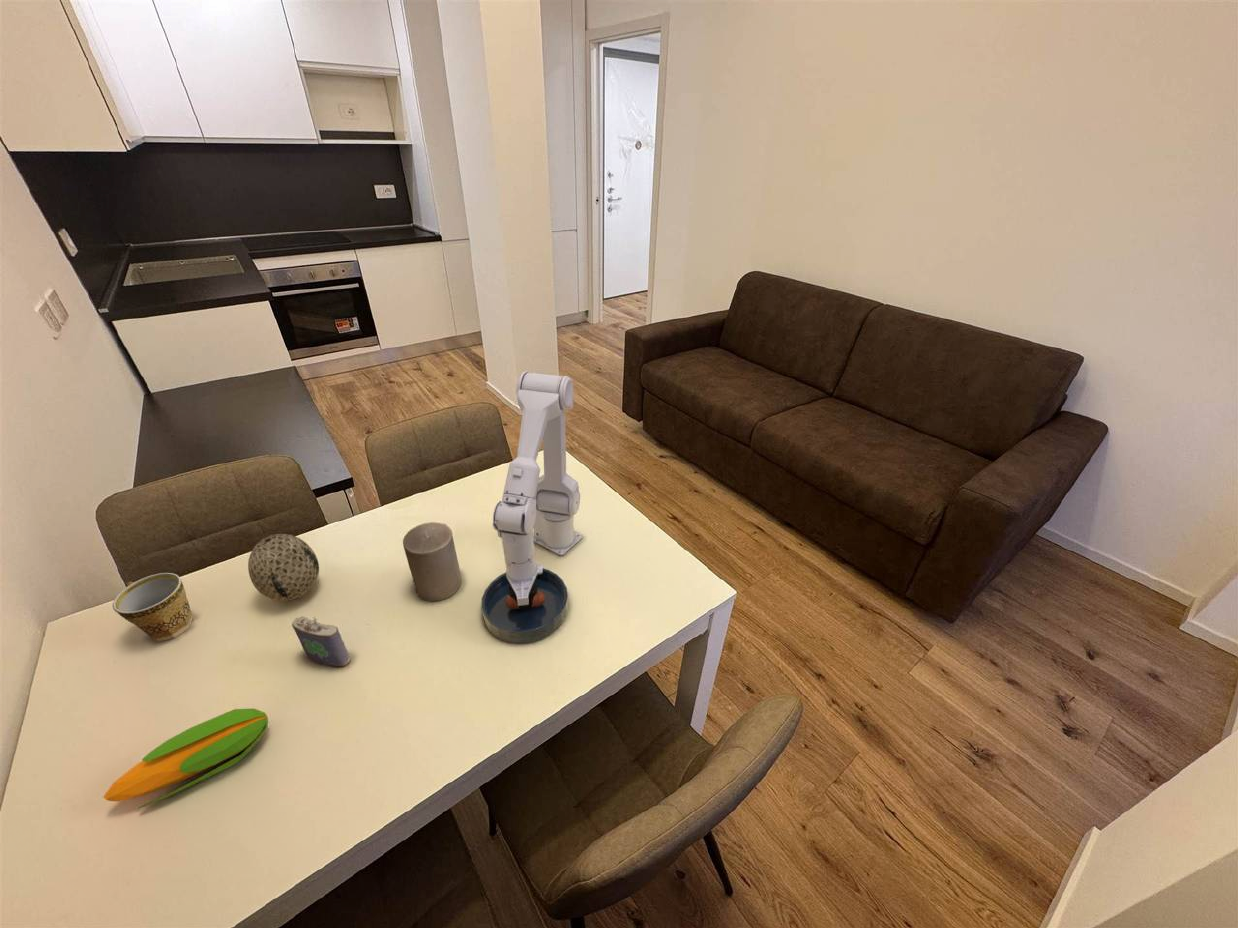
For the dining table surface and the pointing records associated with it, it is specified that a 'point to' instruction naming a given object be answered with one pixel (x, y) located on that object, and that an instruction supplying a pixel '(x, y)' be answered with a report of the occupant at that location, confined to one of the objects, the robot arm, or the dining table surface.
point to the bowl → (528, 622)
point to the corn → (192, 754)
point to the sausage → (537, 601)
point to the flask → (321, 642)
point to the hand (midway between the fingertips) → (525, 602)
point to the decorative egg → (283, 567)
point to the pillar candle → (432, 561)
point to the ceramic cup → (156, 606)
